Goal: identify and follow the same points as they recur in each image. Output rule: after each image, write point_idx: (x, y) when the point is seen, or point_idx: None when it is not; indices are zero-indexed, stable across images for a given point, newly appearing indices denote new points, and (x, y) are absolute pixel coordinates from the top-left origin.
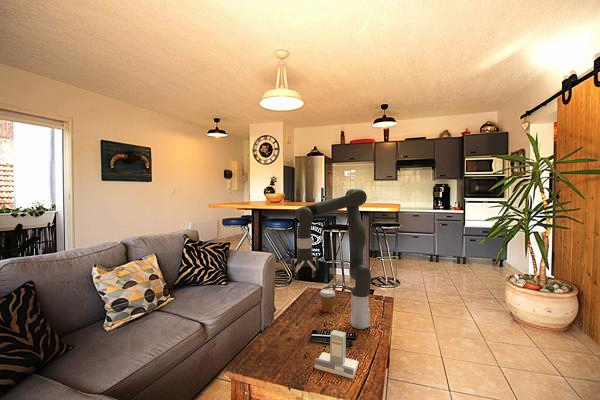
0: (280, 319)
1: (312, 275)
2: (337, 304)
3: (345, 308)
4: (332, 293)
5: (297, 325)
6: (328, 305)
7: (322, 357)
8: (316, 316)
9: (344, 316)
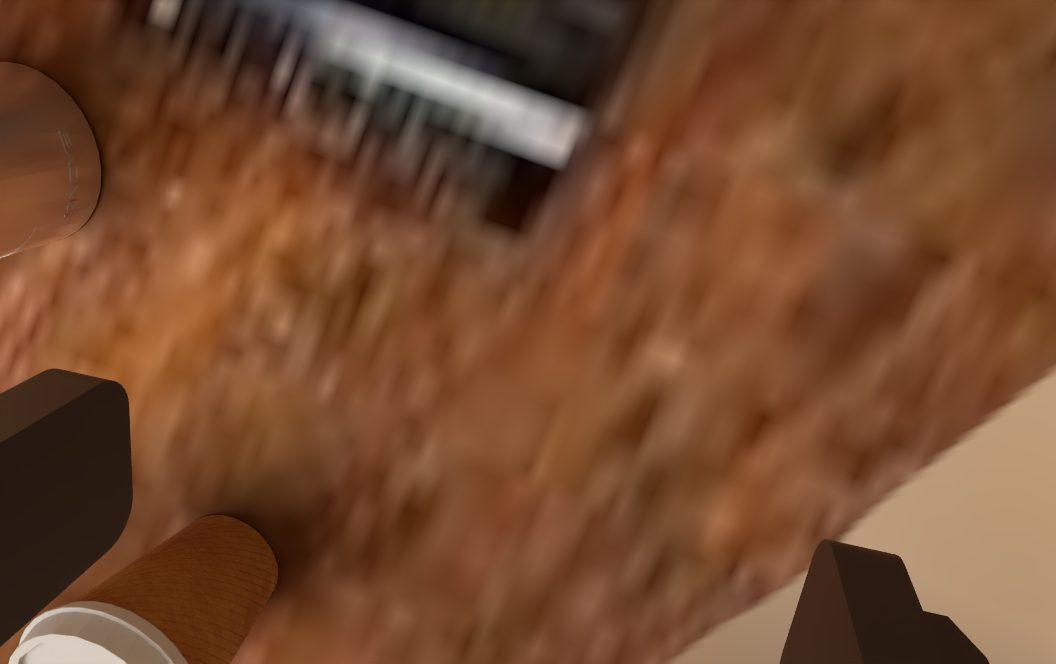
0: (778, 583)
1: (82, 539)
2: None
3: None
4: (45, 631)
5: (648, 390)
6: (190, 555)
7: None
8: (378, 490)
9: None
